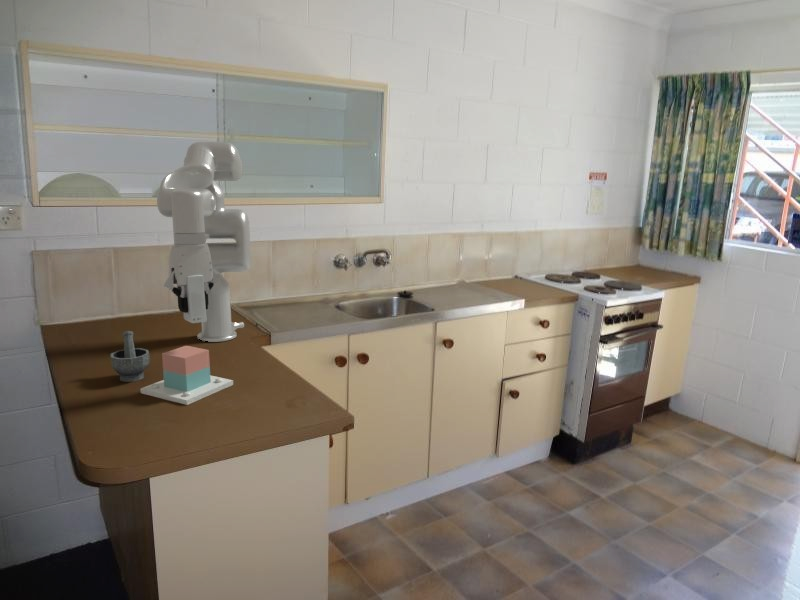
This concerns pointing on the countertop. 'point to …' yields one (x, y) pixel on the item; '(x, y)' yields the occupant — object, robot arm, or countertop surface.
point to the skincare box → (195, 300)
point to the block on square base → (186, 377)
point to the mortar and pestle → (130, 360)
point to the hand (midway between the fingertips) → (193, 309)
